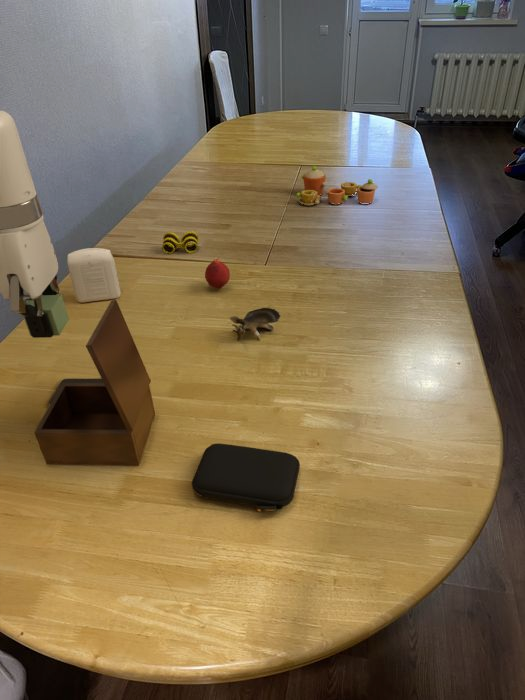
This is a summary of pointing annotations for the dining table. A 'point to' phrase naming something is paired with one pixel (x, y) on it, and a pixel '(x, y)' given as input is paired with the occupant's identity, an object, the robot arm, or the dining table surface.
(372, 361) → the dining table surface
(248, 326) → the brown animal figure
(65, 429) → the keepsake box
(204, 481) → the carrying case
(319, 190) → the toy tea set
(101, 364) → the lid
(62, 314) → the block
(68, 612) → the dining table surface
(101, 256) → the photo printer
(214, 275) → the onion
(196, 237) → the opera glasses
